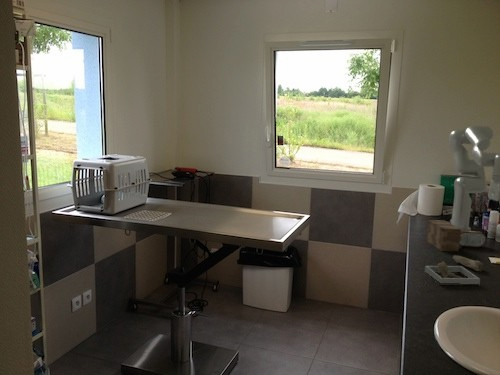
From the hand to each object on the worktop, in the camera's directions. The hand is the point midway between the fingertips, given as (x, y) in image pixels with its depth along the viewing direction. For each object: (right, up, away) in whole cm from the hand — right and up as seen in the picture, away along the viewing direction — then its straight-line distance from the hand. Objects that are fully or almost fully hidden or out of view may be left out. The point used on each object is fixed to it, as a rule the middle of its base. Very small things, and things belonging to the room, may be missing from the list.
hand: (496, 210), depth 239 cm
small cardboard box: (-26, -18, +2) cm, 32 cm away
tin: (-12, -19, +3) cm, 23 cm away
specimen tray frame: (-43, -27, -44) cm, 67 cm away
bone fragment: (-29, -25, -29) cm, 47 cm away
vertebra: (-44, -27, -44) cm, 68 cm away
